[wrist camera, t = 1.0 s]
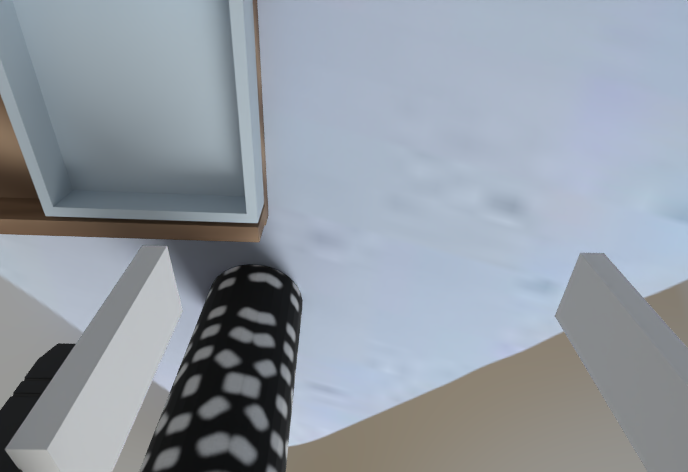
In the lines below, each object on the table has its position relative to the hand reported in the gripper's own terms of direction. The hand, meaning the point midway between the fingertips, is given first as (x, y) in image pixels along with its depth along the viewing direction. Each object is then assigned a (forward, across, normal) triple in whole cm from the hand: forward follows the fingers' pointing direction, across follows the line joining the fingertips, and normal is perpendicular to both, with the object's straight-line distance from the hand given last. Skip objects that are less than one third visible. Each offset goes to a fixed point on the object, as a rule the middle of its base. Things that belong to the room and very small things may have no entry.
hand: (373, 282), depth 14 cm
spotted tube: (+18, -8, -17) cm, 27 cm away
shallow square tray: (+17, -13, +1) cm, 22 cm away
